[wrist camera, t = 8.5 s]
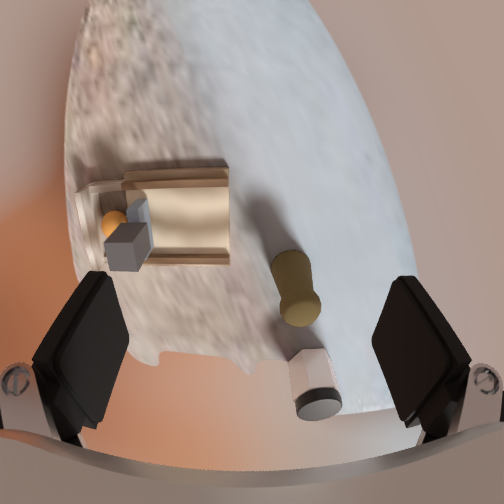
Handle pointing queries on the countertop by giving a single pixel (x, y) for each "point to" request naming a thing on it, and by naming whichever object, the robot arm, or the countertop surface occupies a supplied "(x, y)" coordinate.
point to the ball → (112, 222)
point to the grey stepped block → (131, 239)
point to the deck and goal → (167, 215)
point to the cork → (295, 288)
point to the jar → (314, 385)
